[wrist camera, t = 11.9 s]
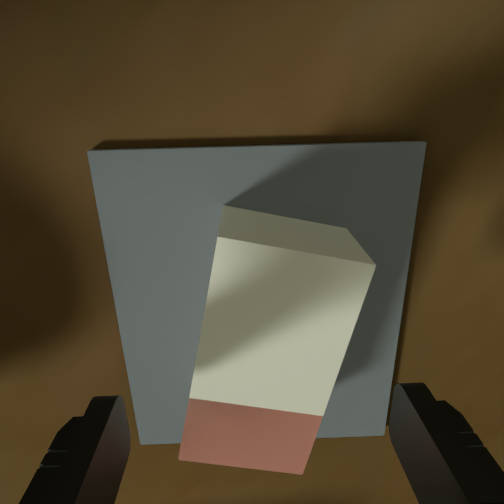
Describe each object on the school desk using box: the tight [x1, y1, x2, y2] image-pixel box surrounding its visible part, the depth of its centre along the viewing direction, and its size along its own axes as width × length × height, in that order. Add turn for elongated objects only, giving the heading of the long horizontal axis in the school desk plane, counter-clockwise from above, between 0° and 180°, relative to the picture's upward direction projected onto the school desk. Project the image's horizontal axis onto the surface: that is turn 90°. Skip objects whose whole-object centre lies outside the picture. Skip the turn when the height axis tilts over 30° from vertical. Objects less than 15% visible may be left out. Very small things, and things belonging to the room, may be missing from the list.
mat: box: [87, 141, 427, 445], centre depth 16 cm, size 12×14×1 cm
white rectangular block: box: [178, 205, 376, 475], centre depth 14 cm, size 9×5×4 cm, turn 169°
